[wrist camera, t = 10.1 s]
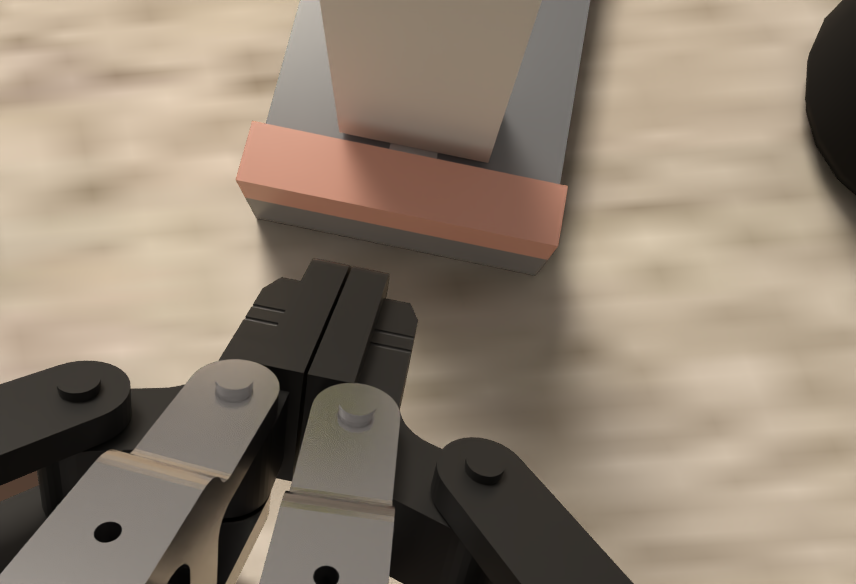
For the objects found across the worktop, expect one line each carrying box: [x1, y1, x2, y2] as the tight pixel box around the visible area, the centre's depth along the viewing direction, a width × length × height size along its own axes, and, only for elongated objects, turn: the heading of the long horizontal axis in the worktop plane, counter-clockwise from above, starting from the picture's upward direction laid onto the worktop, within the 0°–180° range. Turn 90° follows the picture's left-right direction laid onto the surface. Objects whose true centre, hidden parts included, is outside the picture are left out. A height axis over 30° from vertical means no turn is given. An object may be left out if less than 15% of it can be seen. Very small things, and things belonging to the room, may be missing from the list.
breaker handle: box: [320, 0, 542, 163], centre depth 19 cm, size 2×5×10 cm, turn 79°
